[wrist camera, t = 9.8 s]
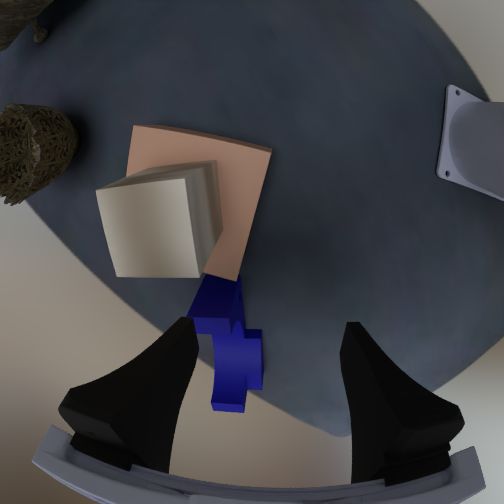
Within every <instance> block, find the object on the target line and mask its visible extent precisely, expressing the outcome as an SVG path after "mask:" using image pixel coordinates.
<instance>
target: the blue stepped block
mask: <svg viewBox="0 0 504 504" xmlns="http://www.w3.org/2000/svg"><path fill="white" fill-rule="evenodd" d="M186 317H190V318H193V319H194V325H195V330H196V333H198V334H212V338H213V345H214V356H215V375H214V387H213V394H212V399H211V405H212V408H213V410H214V411H225V412H238V413H244V410H245V403H246V396H247V389H250V390H262V385H263V374H264V364H263V347H262V330H261V329H246V327H245V318H244V308H243V298H242V289H241V279H240V275H238V277H237V281H232V280H229V279H225V278H222V277H218V276H214V275H205V277H204V279H203V282H202V284H201V286H200V288H199V290H198V292H197V294H196V297H195V299H194V301H193V303H192V305H191V307H190V310H189V312H188V314H187V316H186Z"/></svg>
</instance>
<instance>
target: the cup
mask: <svg viewBox="0 0 504 504" xmlns="http://www.w3.org/2000/svg"><path fill="white" fill-rule="evenodd" d="M3 108H4V109H5V110H6V111H4V112H1V113H0V197H4V196H6V199H5V201H4V204H8V203H11V205H10V206H13V205H15V204H17V203H19V204H20V203H21V202H22V201H23V200H25V199H26V198H28V197H30V196H31V195H33V194H34V193H36V192H38V191H39V190H41V189H42V188H44V187H46V186H47V185H49V184H50V183H52V182H53V181H55V180H56V179H57V178H58V177H59V176H60V175H61V174H62V173H63V172H64V171H65V170H66V168H67V167H68V165H69V163H70V161H71V159H72V158H73V157H74V156H75V155H76V154H77V152H78V151H79V148H80V145H81V133H80V130H79V128H78V127H77V126H76V125H75V124H74V123H72V122H70V120H69V119H68V118H67V116H66V115H65V114H63V113H62V112H61V111H59V110H57V109H54V108H51V107H46V106H38V105H26V104H13V103H11V104H10V105H8V106H4V107H3Z"/></svg>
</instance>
